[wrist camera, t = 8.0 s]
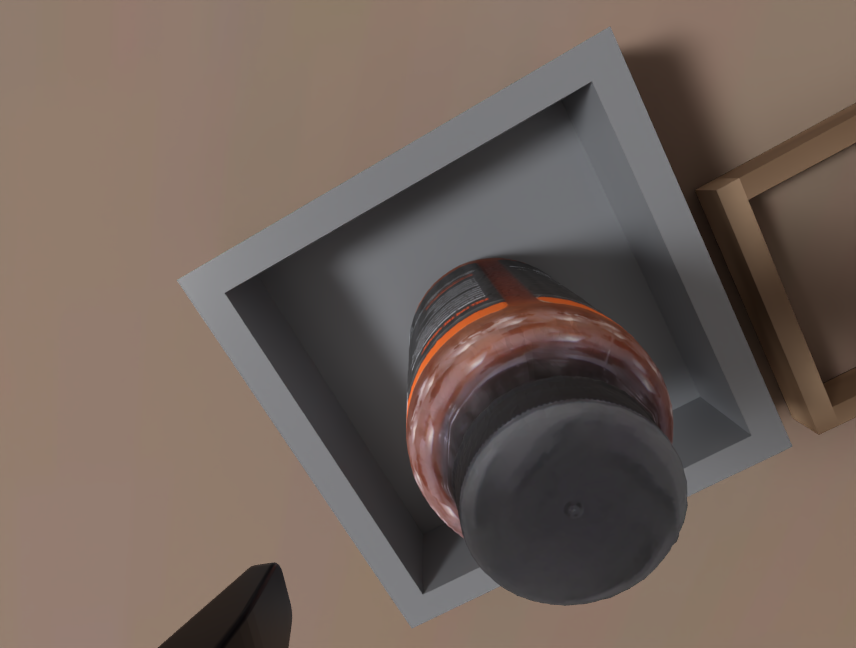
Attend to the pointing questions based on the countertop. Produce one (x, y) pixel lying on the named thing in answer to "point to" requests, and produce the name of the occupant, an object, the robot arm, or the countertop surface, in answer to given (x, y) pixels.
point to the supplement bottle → (541, 434)
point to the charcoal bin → (460, 243)
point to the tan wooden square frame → (760, 278)
